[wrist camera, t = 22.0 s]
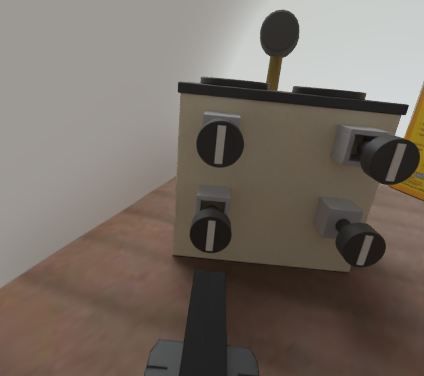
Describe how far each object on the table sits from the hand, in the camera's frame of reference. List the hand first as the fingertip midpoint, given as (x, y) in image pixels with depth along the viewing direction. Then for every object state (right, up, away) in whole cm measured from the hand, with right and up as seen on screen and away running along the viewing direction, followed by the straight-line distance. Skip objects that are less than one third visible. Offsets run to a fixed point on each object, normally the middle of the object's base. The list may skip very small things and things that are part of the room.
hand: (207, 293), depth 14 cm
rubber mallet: (+11, +11, +50) cm, 53 cm away
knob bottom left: (0, +1, +8) cm, 8 cm away
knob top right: (+12, +6, +6) cm, 14 cm away
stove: (+5, -2, +16) cm, 17 cm away
